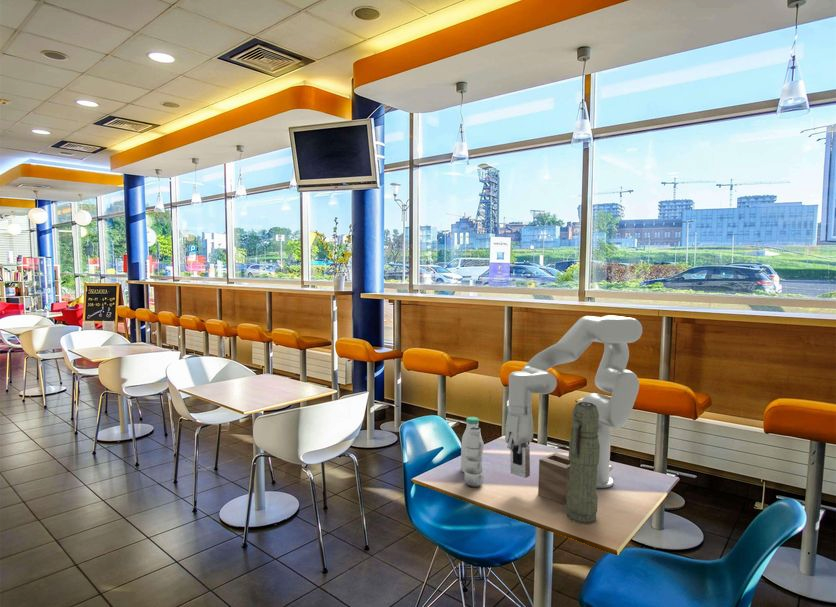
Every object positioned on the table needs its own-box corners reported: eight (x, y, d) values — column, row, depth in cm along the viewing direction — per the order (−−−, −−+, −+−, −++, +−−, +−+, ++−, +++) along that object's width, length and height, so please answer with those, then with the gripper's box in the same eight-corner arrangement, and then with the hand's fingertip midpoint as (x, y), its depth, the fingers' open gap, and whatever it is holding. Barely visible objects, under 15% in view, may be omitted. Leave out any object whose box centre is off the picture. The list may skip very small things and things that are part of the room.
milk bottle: (476, 476, 185) (478, 422, 184) (457, 472, 189) (458, 419, 187) (484, 469, 192) (486, 417, 190) (465, 465, 195) (467, 414, 194)
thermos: (558, 518, 154) (563, 404, 152) (576, 505, 163) (580, 398, 161) (586, 528, 148) (591, 410, 146) (603, 515, 157) (608, 403, 155)
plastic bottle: (482, 489, 174) (484, 432, 172) (462, 487, 175) (464, 430, 174) (483, 482, 180) (485, 426, 179) (464, 480, 181) (466, 425, 180)
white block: (515, 471, 174) (514, 442, 174) (529, 475, 170) (529, 446, 169) (510, 473, 173) (510, 444, 172) (525, 478, 168) (525, 448, 168)
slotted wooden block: (554, 486, 178) (555, 452, 177) (580, 495, 171) (582, 460, 170) (538, 494, 171) (539, 459, 170) (564, 504, 164) (566, 468, 163)
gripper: (525, 402, 178) (524, 453, 179) (496, 411, 167) (496, 466, 168) (543, 406, 172) (543, 459, 174) (514, 416, 161) (514, 472, 163)
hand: (519, 462), depth 171 cm, fingers closed on white block, 2 cm apart
